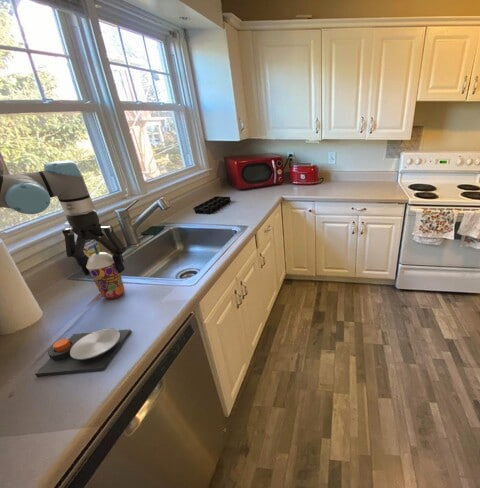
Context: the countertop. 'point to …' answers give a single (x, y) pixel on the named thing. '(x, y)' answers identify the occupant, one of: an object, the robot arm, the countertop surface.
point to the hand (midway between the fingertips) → (105, 272)
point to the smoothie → (105, 274)
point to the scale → (68, 365)
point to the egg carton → (211, 205)
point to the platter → (94, 344)
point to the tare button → (61, 345)
